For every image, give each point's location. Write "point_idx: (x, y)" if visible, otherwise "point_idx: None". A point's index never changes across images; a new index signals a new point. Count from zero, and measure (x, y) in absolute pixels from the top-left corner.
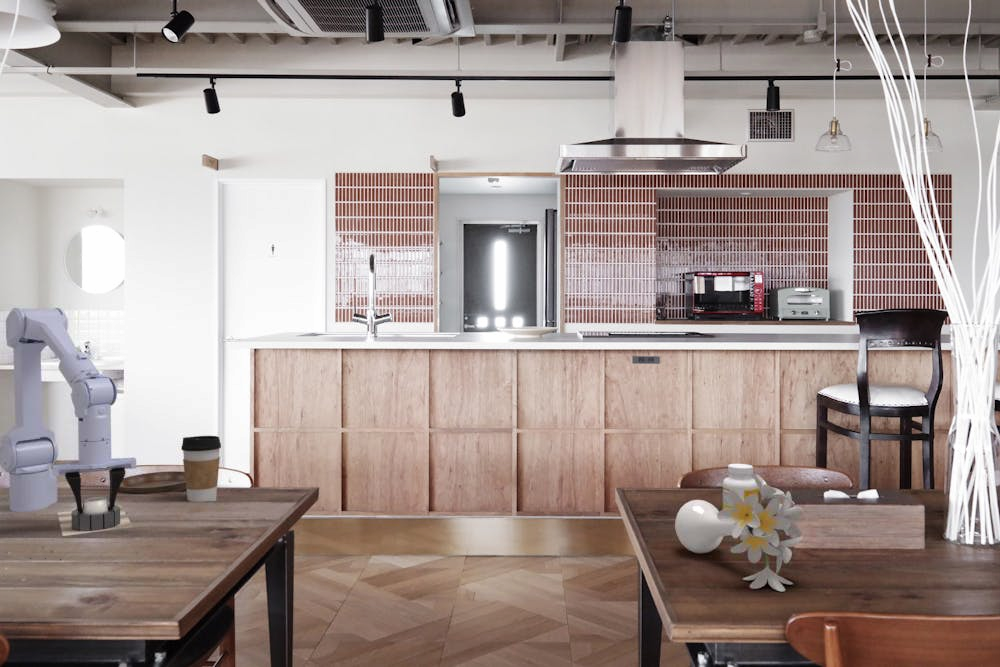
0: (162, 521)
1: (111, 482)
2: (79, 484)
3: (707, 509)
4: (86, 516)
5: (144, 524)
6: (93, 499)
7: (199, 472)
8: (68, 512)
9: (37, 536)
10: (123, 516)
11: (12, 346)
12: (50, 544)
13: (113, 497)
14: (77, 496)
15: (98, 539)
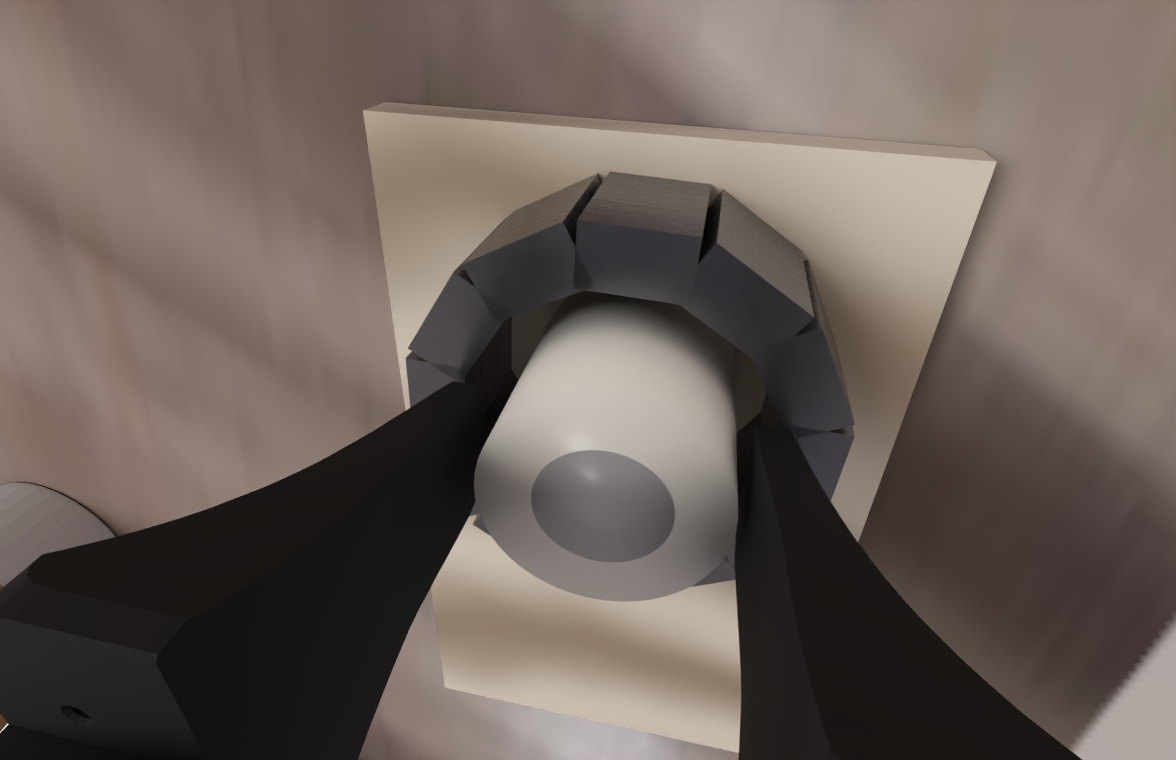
0: (203, 288)
1: (324, 584)
2: (831, 664)
3: None
4: (749, 261)
5: (315, 286)
6: (615, 528)
7: None
8: (722, 733)
9: (1062, 444)
10: None
11: None
12: (1122, 101)
13: (406, 426)
14: (824, 537)
15: (684, 4)
